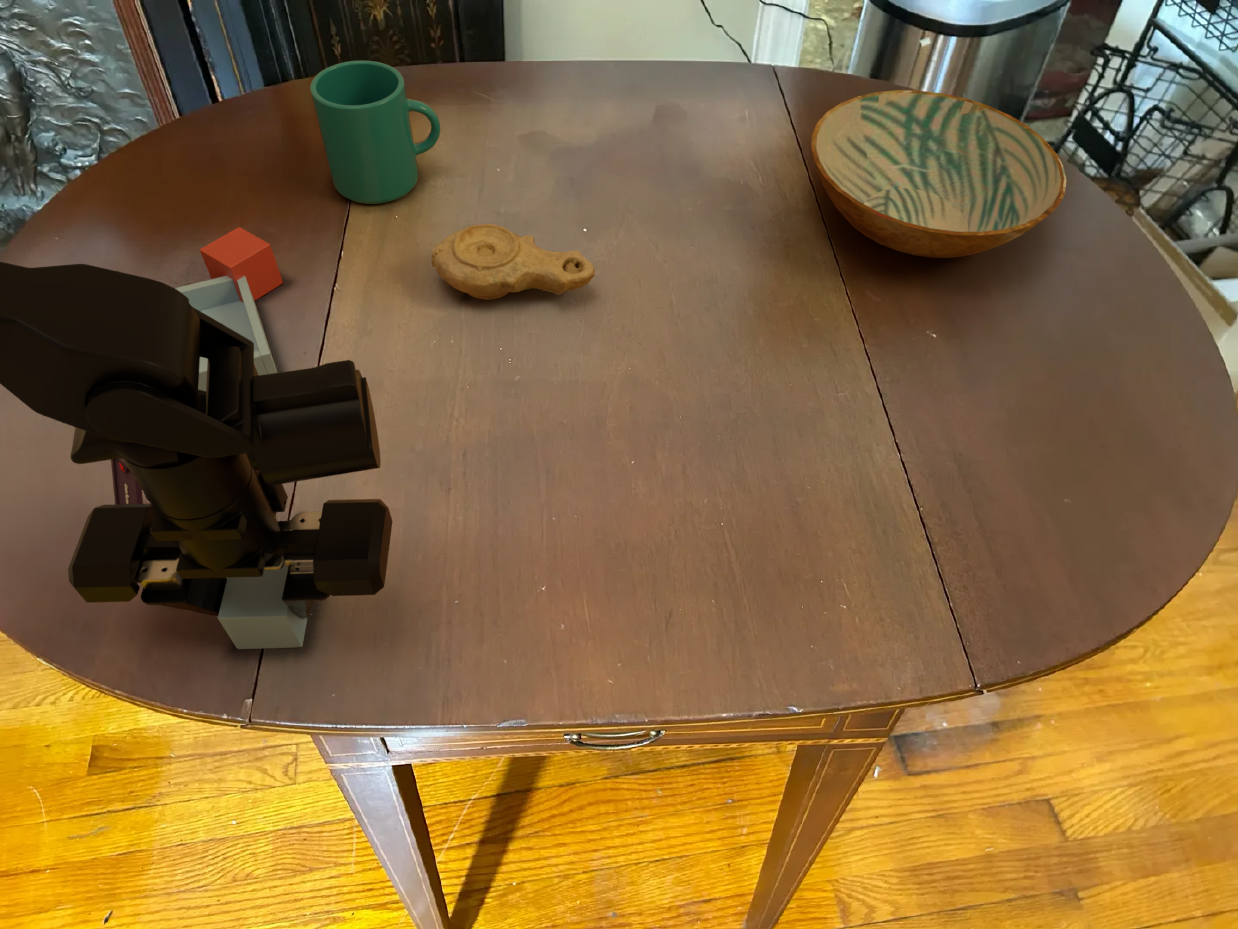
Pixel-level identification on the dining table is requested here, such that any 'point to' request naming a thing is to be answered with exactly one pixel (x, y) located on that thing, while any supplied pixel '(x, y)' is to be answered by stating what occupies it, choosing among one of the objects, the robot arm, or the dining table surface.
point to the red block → (243, 261)
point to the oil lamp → (506, 263)
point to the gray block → (260, 612)
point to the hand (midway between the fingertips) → (272, 613)
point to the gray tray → (231, 318)
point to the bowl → (935, 172)
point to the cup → (369, 130)
